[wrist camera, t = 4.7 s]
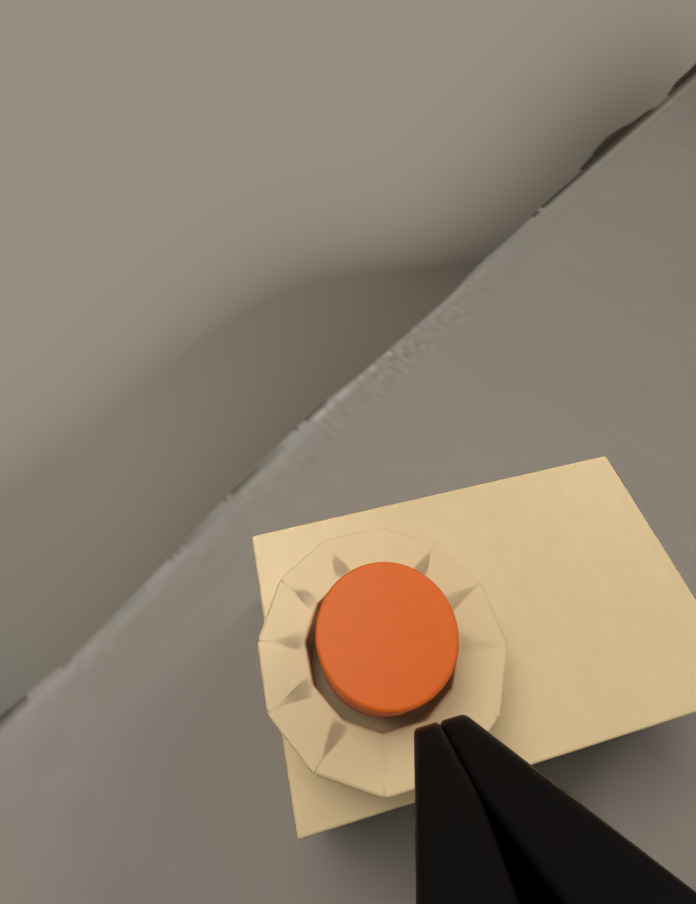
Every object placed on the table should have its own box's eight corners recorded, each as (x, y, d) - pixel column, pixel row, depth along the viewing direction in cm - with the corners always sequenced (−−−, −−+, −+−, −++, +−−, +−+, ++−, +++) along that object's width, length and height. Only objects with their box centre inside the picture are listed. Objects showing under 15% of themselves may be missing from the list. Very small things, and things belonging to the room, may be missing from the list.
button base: (639, 706, 18) (817, 686, 11) (310, 809, 16) (287, 859, 10) (545, 520, 22) (635, 423, 15) (273, 587, 20) (238, 511, 14)
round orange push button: (461, 697, 11) (482, 689, 10) (334, 734, 11) (333, 733, 9) (419, 572, 13) (431, 547, 11) (307, 600, 13) (302, 578, 11)
